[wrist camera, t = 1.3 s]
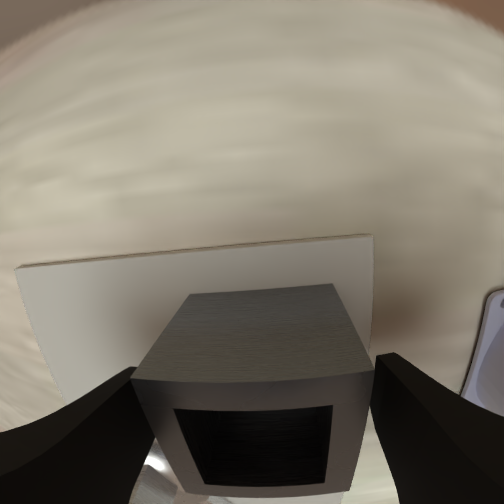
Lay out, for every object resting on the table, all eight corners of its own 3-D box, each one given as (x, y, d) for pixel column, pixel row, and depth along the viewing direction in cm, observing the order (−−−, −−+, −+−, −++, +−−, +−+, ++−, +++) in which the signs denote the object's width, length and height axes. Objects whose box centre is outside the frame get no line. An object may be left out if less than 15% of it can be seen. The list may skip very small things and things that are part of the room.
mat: (369, 234, 10) (373, 236, 9) (329, 533, 16) (329, 537, 16) (20, 266, 11) (14, 269, 11) (161, 526, 18) (160, 529, 17)
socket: (332, 283, 10) (375, 369, 5) (330, 393, 11) (349, 490, 6) (189, 293, 10) (129, 377, 5) (212, 399, 11) (186, 492, 7)
